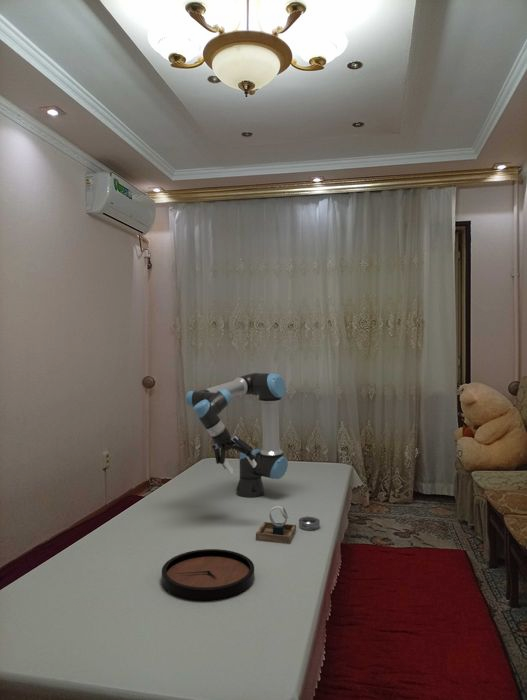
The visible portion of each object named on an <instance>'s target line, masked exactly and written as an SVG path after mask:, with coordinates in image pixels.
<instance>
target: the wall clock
mask: <svg viewBox="0 0 527 700" xmlns="http://www.w3.org/2000/svg"><path fill="white" fill-rule="evenodd" d="M254 581H255V564H254V562H253V561H252V560H251V559H250V558H249V557H247V556H246V555H244V554H243V553H239V552H236V551H233V550H228V549H217V548H215V549H214V548H209V549H207V548H206V549H197V550H191V551H187V552H183V553H180V554H177V555H176V556H173V557H172V558H170V559H168V560H167V561H166V562H164V564H163V566H162V568H161V586H162V588H163V590H164V591H165V592H166V593H168V594H170V595H171V596H173V597H176V598H178V599H182V600H186V601H191V602H192V601H193V602H215V601H222V600H227V599H231V598H233V597H237V596H239V595H241V594H243V593H245V592H246V591H248V590H249V589H250V588H251V587H252V586H253V584H254Z"/></svg>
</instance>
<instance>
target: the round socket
mask: <svg viewBox="0 0 527 700" xmlns="http://www.w3.org/2000/svg"><path fill="white" fill-rule="evenodd" d="M298 528H299V529H300V530H302V531H307V532H313V531H317V530H319V529H320V519H319V518H317V517H314V516H303V517H300V518H299V519H298Z"/></svg>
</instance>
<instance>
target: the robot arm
mask: <svg viewBox="0 0 527 700" xmlns="http://www.w3.org/2000/svg"><path fill="white" fill-rule="evenodd" d="M286 387H287V385H286V382H285V379H284V378H283V377H282V375H280V374H277V373H276V374H275V373H268V372H267V373H265V372H264V373H263V372H253V373H248V374H244V375H241V376H238V377H235V378H234V380H231V381H228V382H226V383H221V384H218V385H215V386H212V387H209V388H204V389H201V390H190V391H188V392H187V394H186V395H185V403H186V405H187V406H188V407H191V408H193V411H194V414H195V416H196V417H197V419H198V420H199V422H201V425H202V426H204V428H205V429H206V431H207V432H208V434H209V436H210V437H211V439H212V440H213V442H214V443H213V445H212V446H211V447H212V449H213V451H214V456H215V462H216V464H217V465H219V464H221V465H222V466H223V469H224V470H226V471H227V472H228V474H229V475H230V476H232V475H233V474H234V473H235V470H234V469H233V467H232V466H231V464H230V463H229V461H228V460H227V459H226V452H227V451H228V450H235V451H237V452H240V453H239V480H238V481H237V483H238V484H237V486H236V488H235V490H236V491H235V493H236V495H237V496H240V497H243V498H258V497H261V496H263V495H265V494H266V493H265V491H266V490H265V486H264V482H263V480H262V478H263V477H264V478H268V479H272V480H274V479H275V480H280V479H281V478H282V477H283V476H285V475H286V472H287V470H288V465H289V463H288V462H289V461H288V459H287V457H285V456H284V455H283V454H284V452H283V450H282V449H281V448H280V447H281V444H280V420H279V419H280V418H279V415H280V414H279V410H280V407H279V402H281V401H282V398H283V396H284V395H285V394H286V393H285V392H286V391H287V390H286ZM246 395H247V396H248V395H251V396H258V401H259V402H260V403H261V417H262V418H261V421H262V422H261V423H262V424H261V426H262V449H260V448H255V449H254V448H253V447H252V446H250V445H249V444H248V443H246V442H245V441H244V440H242V439H241V438H240V437H239V436H238V435H235V436H234V437H231V435H230V434H231V433H230V432H229V430H228V429H227V427H226V426H225V424H224V422H223V421H222V420H221V417H219V414H220V413H221V412H222V411H223V410H225V408H226V407H227V406H228V405H229V404H230V403H231V401H232V398H233V397H236V396H242V397H243V396H246Z"/></svg>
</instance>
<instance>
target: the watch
mask: <svg viewBox="0 0 527 700" xmlns="http://www.w3.org/2000/svg"><path fill="white" fill-rule="evenodd" d="M276 509H279V511H280V513H281V515H282V517H283V519H284V522H275V521H274V518H273V516H272V512H273V511H274V510H276ZM268 517H269V520H270V522H271V523H272V524H273V534H275V535H283V531H284V524H287V522H288V519H289V515H288V513H287V511H286V509H285V507H284V506H281V505H275V506H273V507H272V508H271V509H270V510H269V514H268Z"/></svg>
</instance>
